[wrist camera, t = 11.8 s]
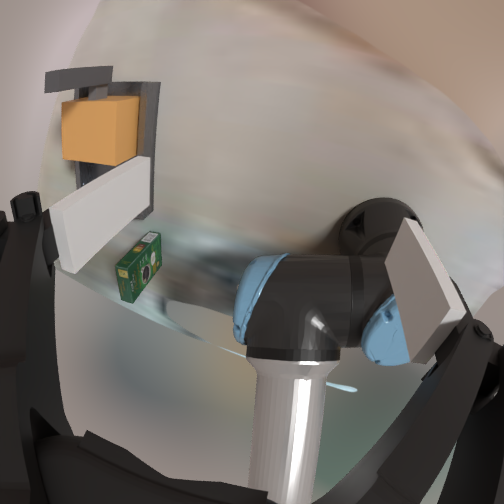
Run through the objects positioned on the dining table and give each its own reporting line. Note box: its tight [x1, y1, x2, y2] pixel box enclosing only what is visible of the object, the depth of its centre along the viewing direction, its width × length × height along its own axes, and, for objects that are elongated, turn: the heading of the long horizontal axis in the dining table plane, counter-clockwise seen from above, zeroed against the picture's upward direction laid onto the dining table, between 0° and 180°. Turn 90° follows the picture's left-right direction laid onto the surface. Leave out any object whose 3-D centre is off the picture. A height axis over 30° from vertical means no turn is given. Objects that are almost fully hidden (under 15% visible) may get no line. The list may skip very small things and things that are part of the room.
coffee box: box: [115, 231, 162, 304], centre depth 52 cm, size 8×3×13 cm, turn 173°
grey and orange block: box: [45, 66, 141, 166], centre depth 35 cm, size 16×12×16 cm
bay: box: [74, 82, 161, 220], centre depth 45 cm, size 24×16×4 cm, turn 171°
